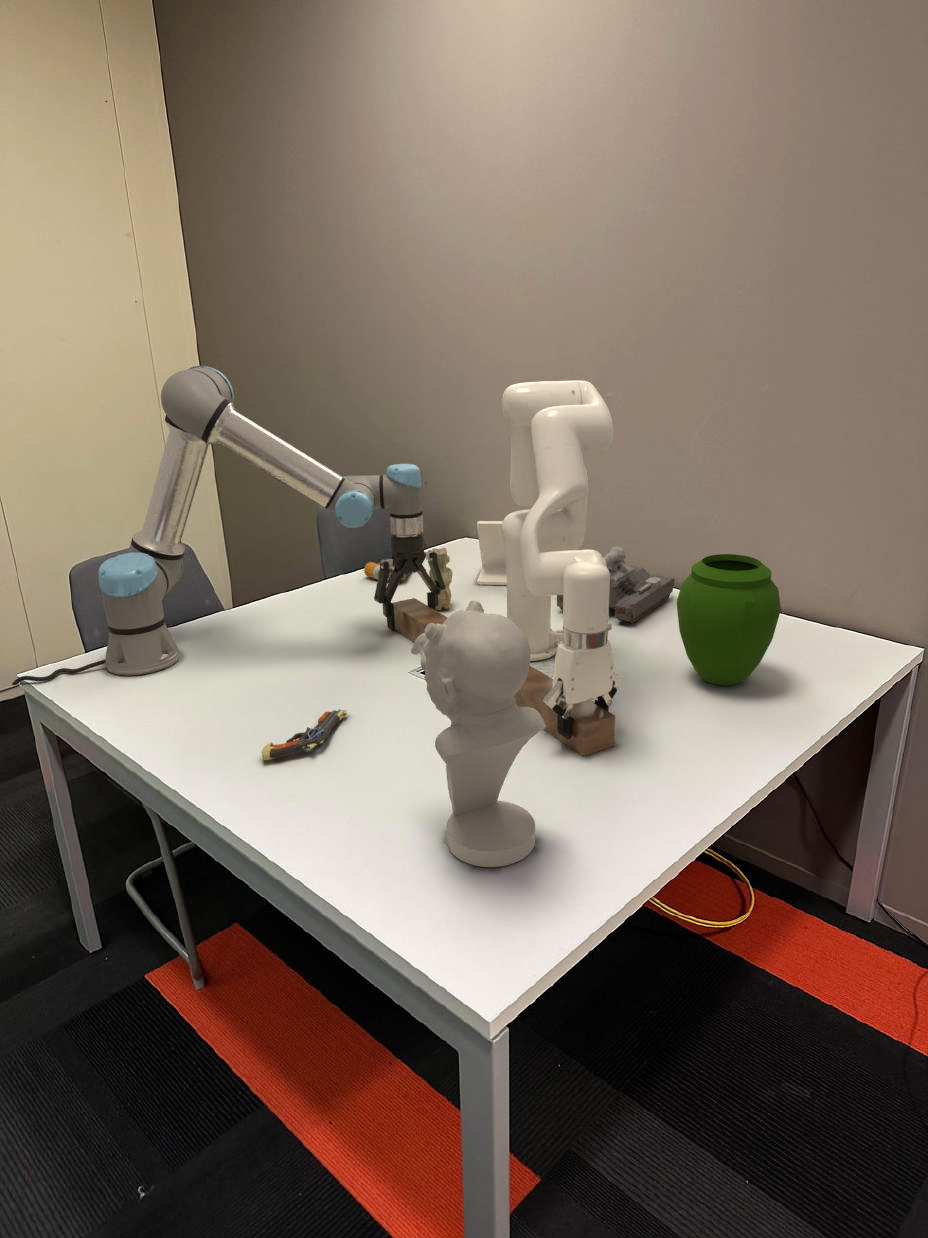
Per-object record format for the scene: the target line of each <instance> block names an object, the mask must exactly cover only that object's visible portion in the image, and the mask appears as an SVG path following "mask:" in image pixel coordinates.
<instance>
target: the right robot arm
mask: <svg viewBox="0 0 928 1238" xmlns="http://www.w3.org/2000/svg"><path fill="white" fill-rule="evenodd" d="M501 411H502V416H503V420H504V422H505V425H506V428H507V431H508V434H509V439H510V458H509V459H510V461H509V463H510V464H509V465H510V466H509V468H510V469H509V492H510V497H511V499H512V501H513V503H514V504H515V505H517V506H521V507H531V508H529V509H528V508H527V509H520V510H516V511H515V510H514V511H512V512H510V513H508V514H507V515H505V517H504V519H503V520H502V521H503V522H502V538H503V544H504V550H505V558H506V578H507V585H506V617H507V618H509V619H511V620H512V621H513V622H514V623H515V624H516V625H517V626H518V627H519V628H520V629H521V630H522V632H523V633H524V634H525V636H526V638H527V640H528V643H529V646H530V652H531V653H530V655H531V656H530V662H535V661H536V662H537V661H543V660H547V659H550V658H552V657H555V658H554V663H553V673H552V679H553V685H552V689H551V690H550V691H549V693H548V694H547V695H546V696H545V697H544V699H543V701H544V702H545V703H546V705H547V706H548V707H549V708H550V709H551V710H552V711H554V712H555V713H556V714H557V730H558V733H559V734H561V735H562V736H563V737H565V738H566V739H571V737H572V718H570V717H569V716H570V713H571V711H572V709H573V707H574V704H576V703H579V702H583V701H586V700H592V699H595V698H596V699H595V700H594V702H593V703H595V704H596V705H598V706H600V707H602V708H603V709H605V710H607V711H608V712H610V711H609V709H610V706H611V705H612V704H613V699H614V696H615V695H616V694H617V692H618V689H619V687H620V686H621V685H622V682H623V679H624V678H623V677H621V676H620V675H618V674H617V673H615V672H614V659H613V652H612V645H611V640H609V631H612V629H613V626H612V624H611V622H609V619H610V618H609V616H610V611H609V610H610V608H609V592H610V573H609V570H608V568H607V566H606V561H605V559H604V558H603V555H602V554H601V553H600V552H599V551H598V550H595V549H589V548H588V549H587V548H586V549H581V548H582V546H583V545H584V542H585V539H586V528H587V514H588V501H589V476H588V472H587V468H586V465H585V460H584V454H587V453H601V452H605V451H607V450H608V449H610V447H611V445H612V443H613V440H614V431H615V430H614V423H613V419H612V415H611V412H610V409H609V407H608V405H607V404H606V402H605V400H604V398H603V397H602V395H601V394H600V393H599V391H598V389H596V387H595V385H594V384H593V383H591V382H590V381H587V380H557V381H555V380H554V381H552V380H551V381H550V380H549V381H547V380H546V381H529V382H528V381H527V382H519V383H515V384H511V385H509V386H508V387H506V388H505V390H504V392H503V394H502V397H501ZM557 595H563V610H562V629H556V630H553V629H552V628H551V625H552V621H551V618H552V616H551V613H552V609H551V608H552V596H557ZM559 642H560V643H559ZM558 696H560V698H559V700H558V702H557V703H556V699H557V698H558ZM565 702H566V703H567V705H566V707H565V709H563V707H564V704H565Z"/></svg>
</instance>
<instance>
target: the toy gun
mask: <svg viewBox="0 0 928 1238" xmlns="http://www.w3.org/2000/svg"><path fill="white" fill-rule="evenodd" d="M347 712H348V710H347V709H340V708H339V709H338V710H336V709H333V710H332V711H330V710H329V711H324V713H323V714H322V715H321V716H320V717H319V718H318V719H317V724H316V726H314V727H313V728H311V727H306V730H305V731H304V732H297V733H295V734H294V735H292V736H291V737H290V738H289V739H287V740H286V741H285V742H284V743H280V744H274V743H273V742H272V741H271V742H269V743H267V744H265V746H264V747H262V749H261V755H262V760H263V761H271V760H274V759H278V758H283V757H285V756H288V755H292V754H295V753H299V752H302V751H305V750H307V749H309V750H312V749H314V748H315V747H317V746H318V745H320V744H323V743H324V742H325V741H326V739H327V738H328V737H329V736H330V734H331V732H332V730H333V729H334V728H335V726H336V725H337V724H338V723H339V722H340V721H341V720H342V719H343V718H344V717H347V715H348V713H347Z"/></svg>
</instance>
